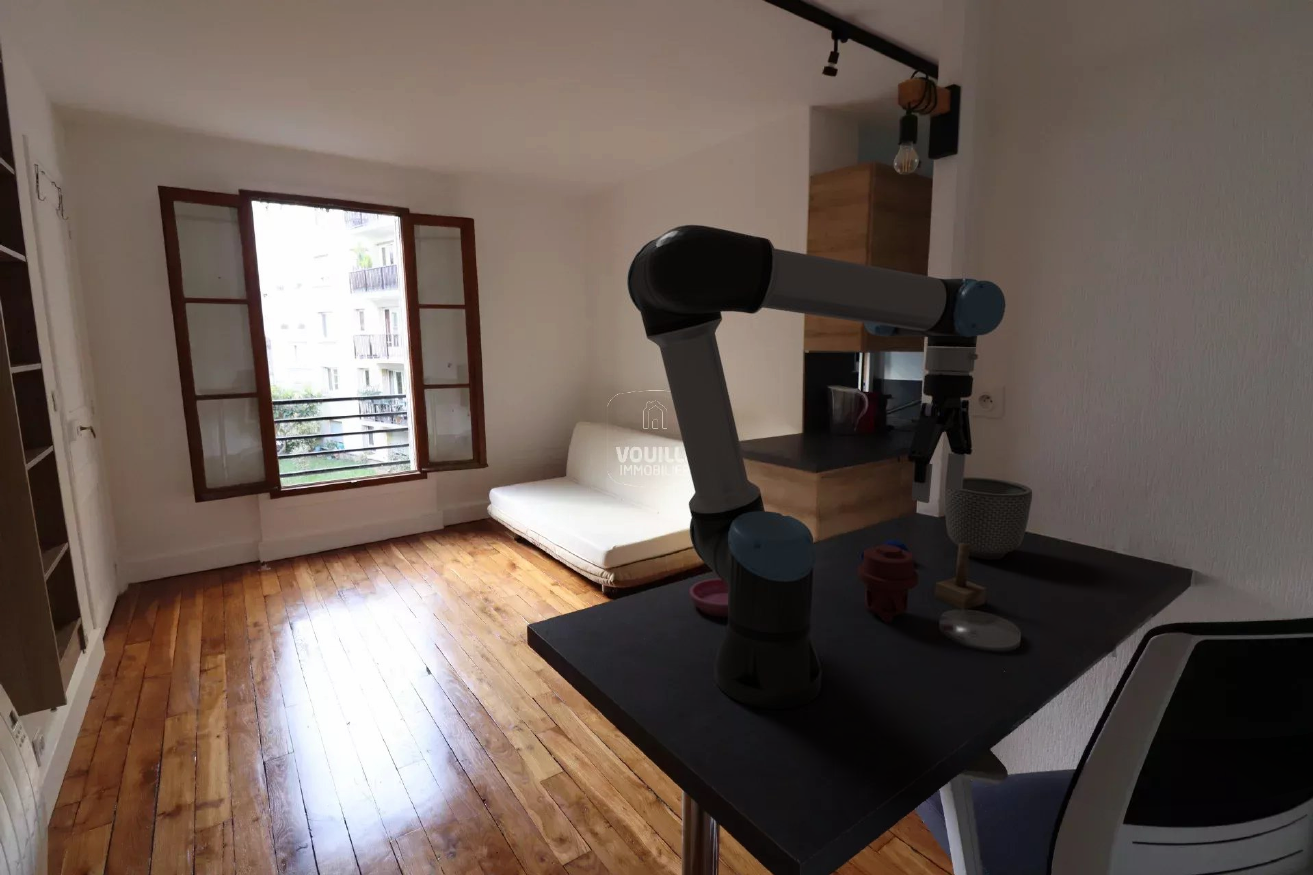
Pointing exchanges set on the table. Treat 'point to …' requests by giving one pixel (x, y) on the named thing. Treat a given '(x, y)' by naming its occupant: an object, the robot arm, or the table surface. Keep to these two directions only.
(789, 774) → the table surface
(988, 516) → the planter
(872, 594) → the mechanical component
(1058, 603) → the table surface
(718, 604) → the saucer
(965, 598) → the brown wooden peg block
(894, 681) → the table surface
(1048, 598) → the table surface
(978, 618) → the grey round disc
